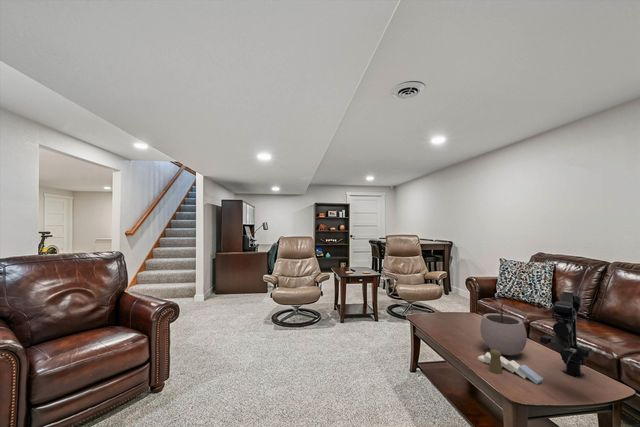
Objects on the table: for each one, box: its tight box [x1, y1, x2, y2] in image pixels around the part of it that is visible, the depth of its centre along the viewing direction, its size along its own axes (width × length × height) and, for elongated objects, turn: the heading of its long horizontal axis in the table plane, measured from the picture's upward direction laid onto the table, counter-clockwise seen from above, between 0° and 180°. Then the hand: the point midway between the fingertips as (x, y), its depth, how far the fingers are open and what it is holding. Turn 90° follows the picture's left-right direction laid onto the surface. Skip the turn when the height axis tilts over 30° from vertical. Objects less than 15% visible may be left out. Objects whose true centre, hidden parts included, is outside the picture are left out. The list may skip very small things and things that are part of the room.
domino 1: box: [477, 354, 490, 365], centre depth 158 cm, size 5×2×9 cm
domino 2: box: [484, 351, 504, 368], centre depth 154 cm, size 5×2×9 cm
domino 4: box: [507, 359, 529, 380], centre depth 145 cm, size 5×2×9 cm
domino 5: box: [518, 364, 544, 385], centre depth 140 cm, size 5×2×9 cm
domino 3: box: [500, 355, 516, 374], centre depth 150 cm, size 5×2×9 cm
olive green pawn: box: [488, 349, 503, 375], centre depth 148 cm, size 6×6×11 cm
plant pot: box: [479, 303, 528, 356], centre depth 170 cm, size 24×24×30 cm
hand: (565, 363), depth 130 cm, fingers closed
